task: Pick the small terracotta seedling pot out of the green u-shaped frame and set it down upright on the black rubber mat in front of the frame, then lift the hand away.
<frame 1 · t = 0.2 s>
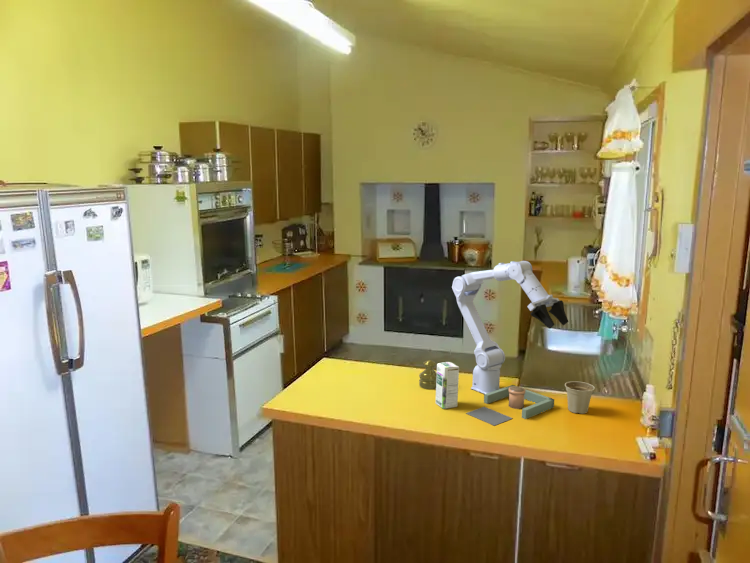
hand: (559, 325, 180), 31 cm above the countertop, tool tilted 45°, fingers open, 7 cm apart
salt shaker: (429, 386, 212), on the countertop
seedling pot: (516, 406, 193), on the countertop
rubber mat: (489, 416, 185), on the countertop
green u-shaped frame: (516, 405, 193), on the countertop
syrup box: (446, 405, 194), on the countertop
flower pot: (577, 410, 190), on the countertop
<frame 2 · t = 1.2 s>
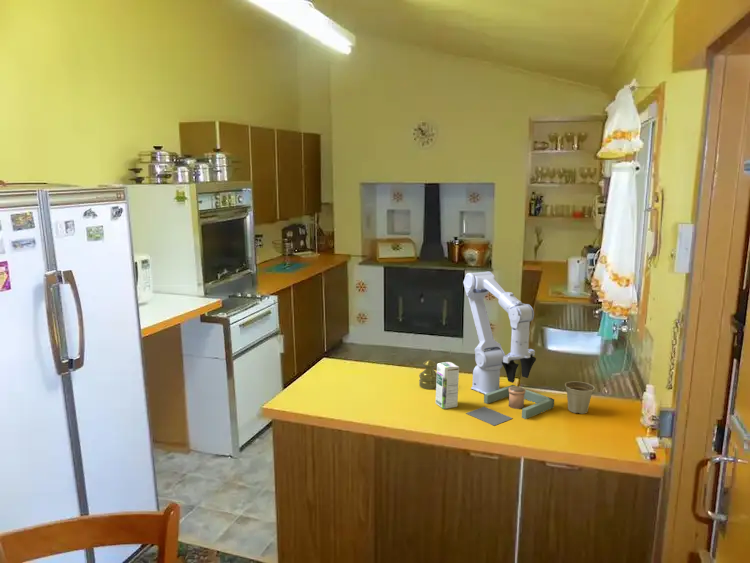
hand: (518, 379, 191), 10 cm above the countertop, tool pointing down, fingers open, 7 cm apart
nothing on the countertop moved.
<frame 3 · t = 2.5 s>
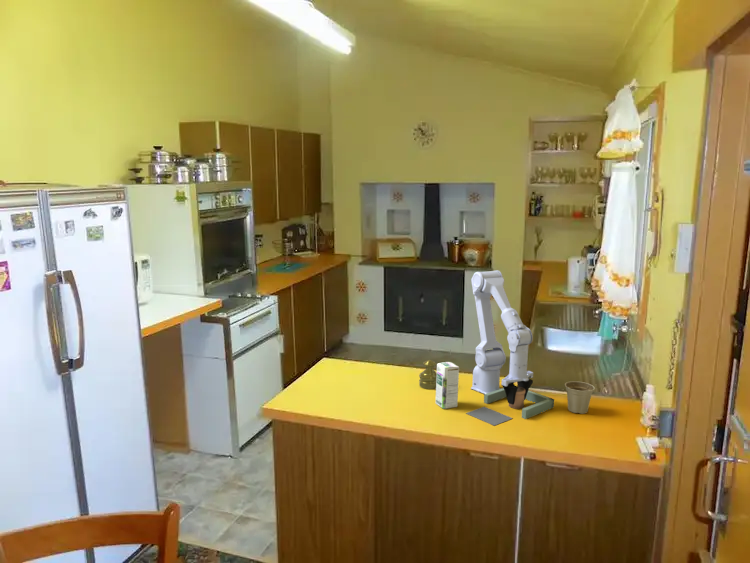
hand: (516, 401, 193), 2 cm above the countertop, tool pointing down, fingers closed on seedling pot, 5 cm apart
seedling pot: (516, 406, 193), on the countertop, touching gripper
everything else where it was.
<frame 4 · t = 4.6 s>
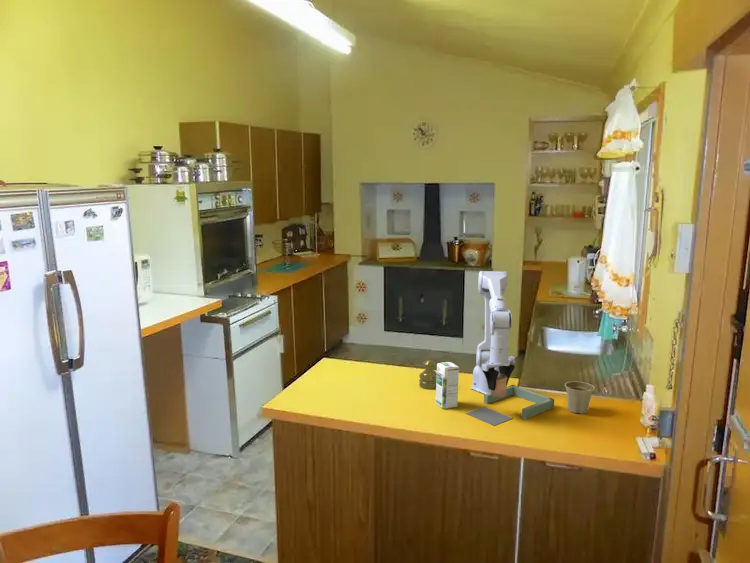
hand: (497, 387, 185), 9 cm above the countertop, tool pointing down, fingers closed on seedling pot, 5 cm apart
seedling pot: (498, 393, 186), point 7 cm above the countertop, touching gripper
everything else where it was.
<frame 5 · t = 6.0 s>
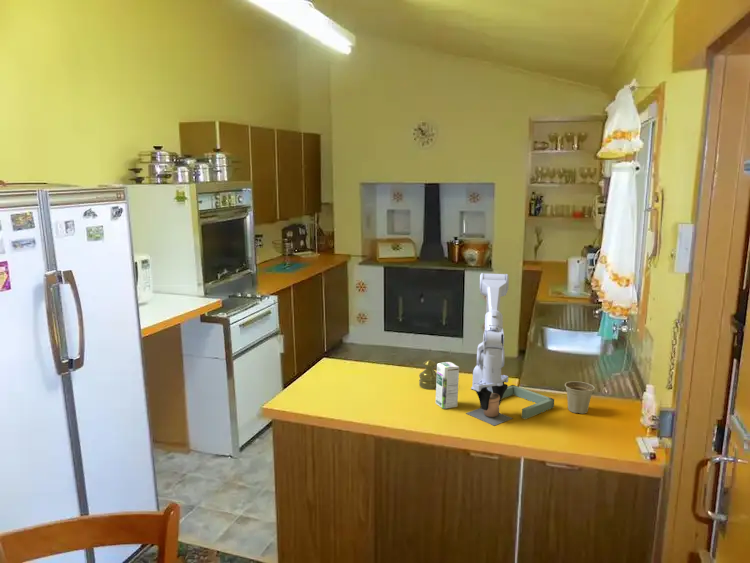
hand: (490, 407, 185), 3 cm above the countertop, tool pointing down, fingers closed on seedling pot, 5 cm apart
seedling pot: (491, 413, 185), point 1 cm above the countertop, touching gripper
everything else where it was.
when the fingers open (3 cm above the countertop, at t = 7.0 s): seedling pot stays where it is, resting on rubber mat.
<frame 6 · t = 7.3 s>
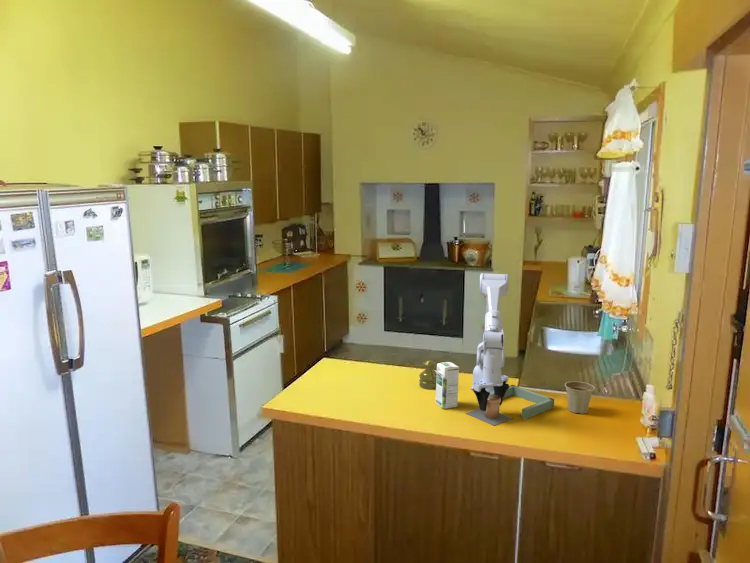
hand: (490, 407, 185), 3 cm above the countertop, tool pointing down, fingers open, 7 cm apart
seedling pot: (491, 415, 185), resting on rubber mat
everything else where it was.
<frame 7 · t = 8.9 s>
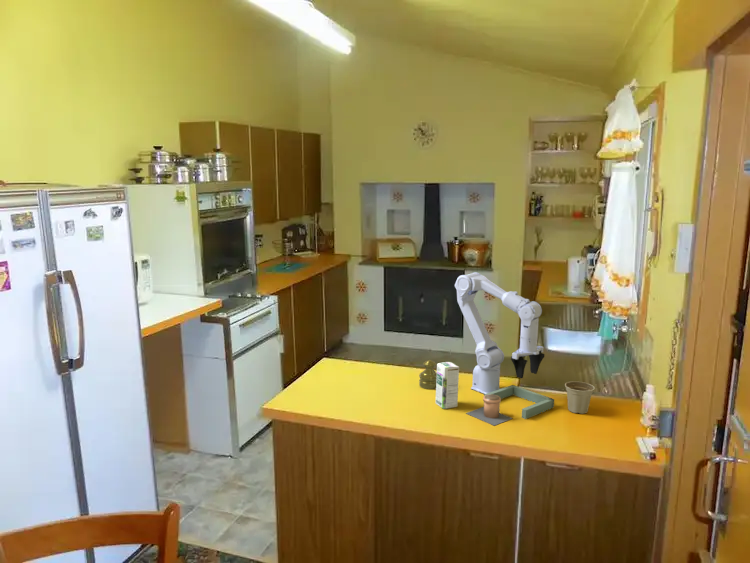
hand: (526, 375, 196), 9 cm above the countertop, tool pointing down, fingers open, 7 cm apart
nothing on the countertop moved.
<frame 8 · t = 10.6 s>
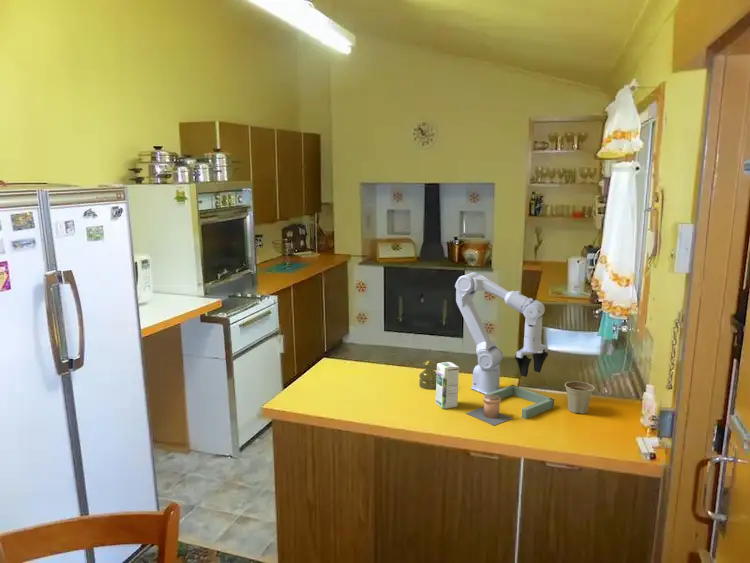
hand: (530, 373, 198), 9 cm above the countertop, tool pointing down, fingers open, 7 cm apart
nothing on the countertop moved.
at the end: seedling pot inside the target area (0.7 cm from its centre), resting on rubber mat; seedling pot tilted 0°; the gripper is holding nothing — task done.
